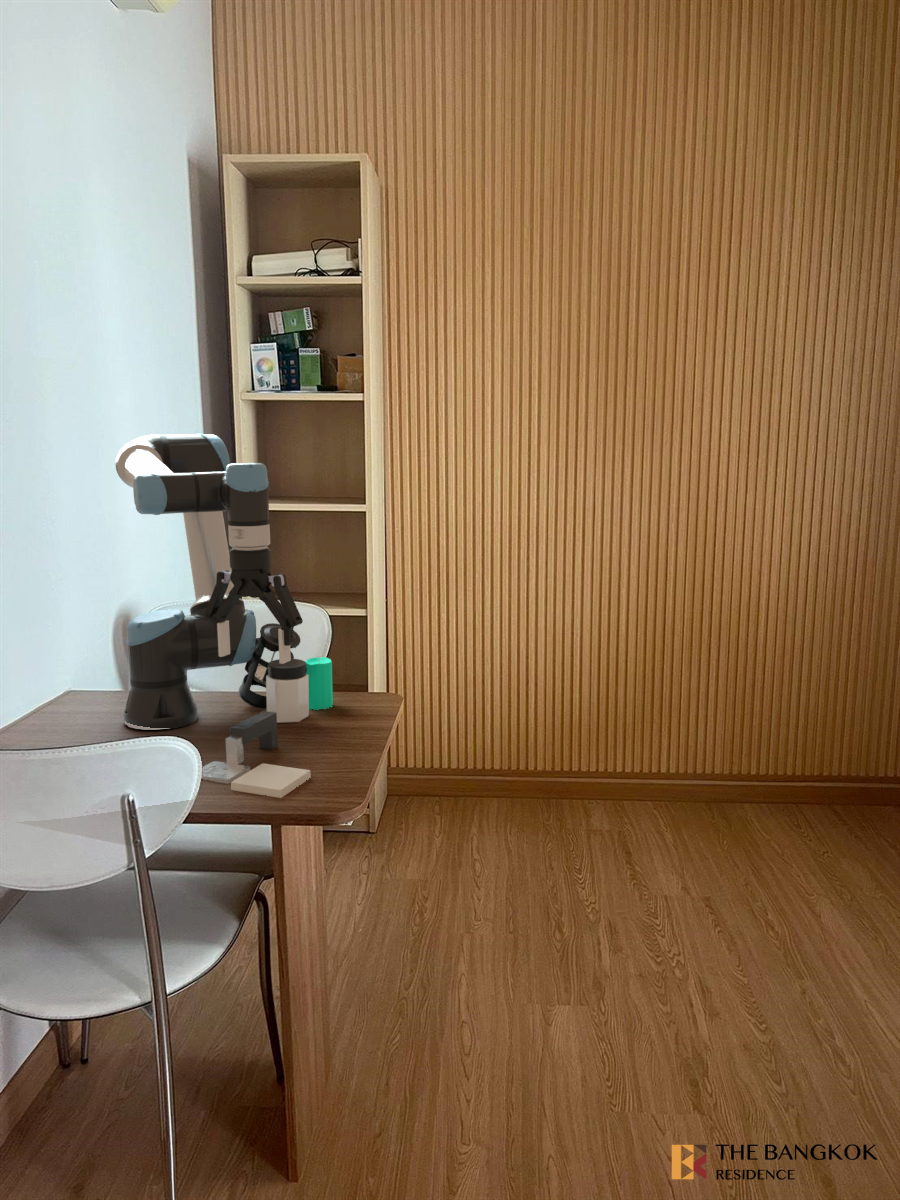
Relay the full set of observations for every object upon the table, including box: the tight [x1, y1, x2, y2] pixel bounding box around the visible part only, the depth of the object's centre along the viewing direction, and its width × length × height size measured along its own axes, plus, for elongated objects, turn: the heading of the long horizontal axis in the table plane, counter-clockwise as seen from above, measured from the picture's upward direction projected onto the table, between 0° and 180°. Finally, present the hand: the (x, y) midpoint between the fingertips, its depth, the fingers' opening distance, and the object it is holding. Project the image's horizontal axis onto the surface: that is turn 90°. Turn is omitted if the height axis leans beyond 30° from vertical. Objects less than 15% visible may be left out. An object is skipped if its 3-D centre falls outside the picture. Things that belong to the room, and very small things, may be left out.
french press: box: [238, 622, 301, 710], centre depth 212 cm, size 12×9×23 cm
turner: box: [202, 710, 279, 785], centre depth 180 cm, size 20×8×7 cm, turn 157°
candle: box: [305, 656, 334, 711], centre depth 215 cm, size 6×6×12 cm
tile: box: [230, 762, 312, 799], centre depth 170 cm, size 2×10×10 cm
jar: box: [265, 658, 310, 724], centre depth 206 cm, size 9×8×12 cm
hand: (254, 658), depth 182 cm, fingers open, 13 cm apart
